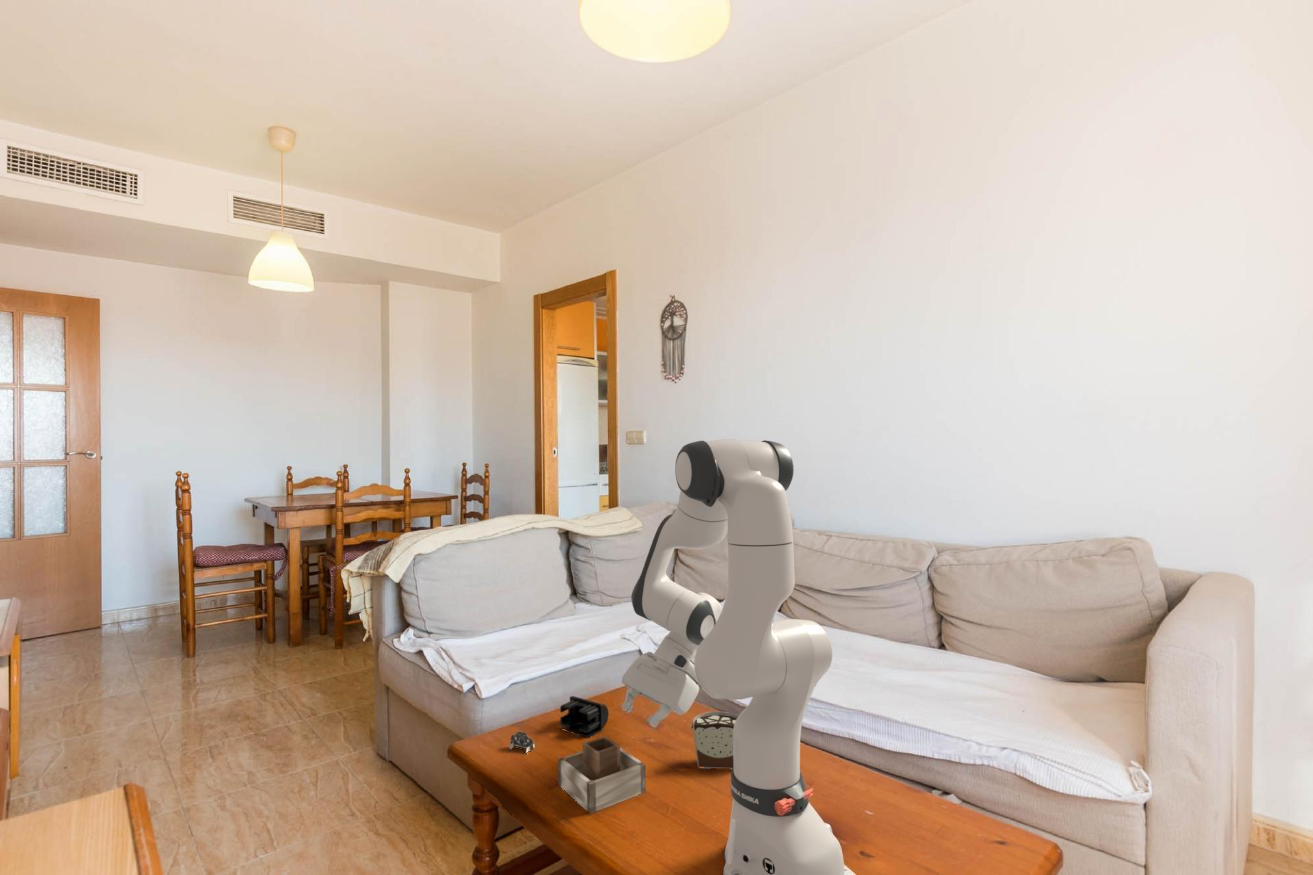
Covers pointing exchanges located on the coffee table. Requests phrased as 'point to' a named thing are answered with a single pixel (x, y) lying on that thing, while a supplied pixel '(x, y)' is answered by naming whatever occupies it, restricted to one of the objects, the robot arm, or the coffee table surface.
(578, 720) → the end cap
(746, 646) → the robot arm
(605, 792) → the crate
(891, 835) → the coffee table surface
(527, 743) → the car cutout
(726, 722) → the food container
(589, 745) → the small crate
